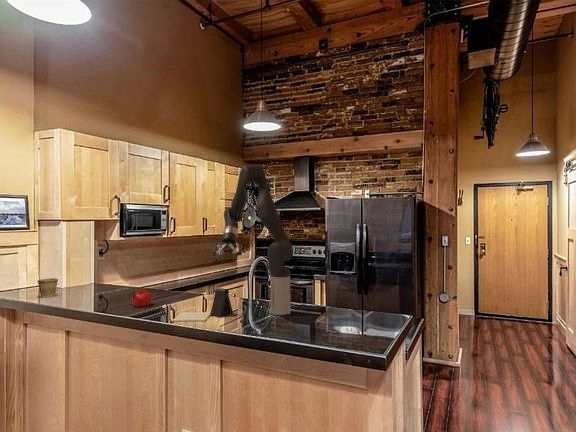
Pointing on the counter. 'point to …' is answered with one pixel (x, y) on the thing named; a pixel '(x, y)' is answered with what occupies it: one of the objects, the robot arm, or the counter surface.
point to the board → (192, 316)
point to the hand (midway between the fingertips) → (225, 260)
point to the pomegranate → (141, 298)
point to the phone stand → (221, 303)
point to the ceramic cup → (47, 287)
